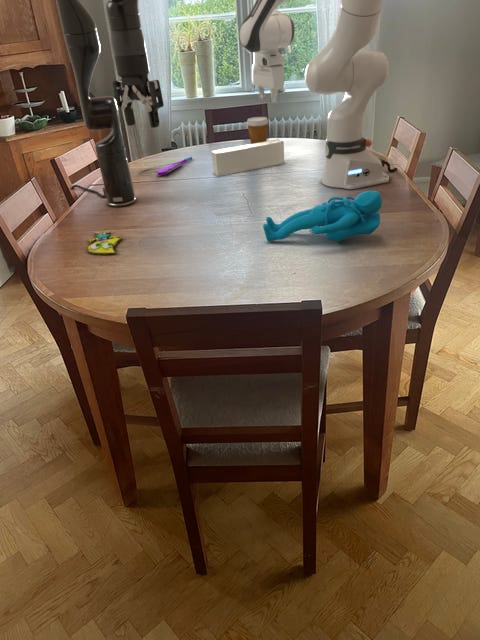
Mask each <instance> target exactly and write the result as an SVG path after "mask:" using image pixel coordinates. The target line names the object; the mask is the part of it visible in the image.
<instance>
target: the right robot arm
mask: <svg viewBox="0 0 480 640" xmlns="http://www.w3.org/2000/svg"><path fill="white" fill-rule="evenodd" d="M288 1H289V2H290V0H256V1H255V2H254V5H253V6H252V8H251V10H250V12H249V14H247V16H246V17H245V18H244V19H243V21H242V23H241V25H240V26H239V31H238V38H239V42H240V45H241V46H242V47H243V49H244V50H246V51H247V52H248V53H249V54H253V64H252V65H251V80H252V86H256V87H257V91H258V94H259V99H260V100H263V101H264V100H266V92H265V89H269V90H270V93H271V96H270V103H273V104H274V103H277V100H278V99H277V97H278V94H279V90H283V89H284V85H285V68H284V65H285V63H286V60H285V59H286V58H285V57H284V56H283V55H282V54H281V52H280V51H279V49H284V48H286V47H289V46H290V45H291V44H292V43H293V40H294V39H295V32H296V31H295V29H296V28H295V23H294V20H293V19H292V18H291V17H290V16H289V15H288V14H285V13H282V12H280V11H279V10H278V9H277V7H279V6H280V5H282V4H284V3H286V2H288ZM383 3H384V0H340V5H339V10H338V15H337V19H336V24H335V28H334V30H333V33H332V35H331V38H330V40H329V41H328V43H327V44H326V45H325V47H324V48H323V49H322V50H321V51H320V52H319V53H318V54H317V55H315V57H313V58H311V60H310V61H309V62H308V63H307V65H306V68H305V72H304V80H305V85H306V87H307V89H308V90H309V91H310V92H311V93H312V94H316V95H326V96H329V95H337V94H345V95H344V98H343V99H342V101H341V102H340V103H339V104H337V105H336V106H335V107H333V108H332V109H331V110H330V111H329V113H328V116H327V123H326V124H327V126H326V127H327V129H326V130H327V133H326V139H325V145H324V154H325V155H324V156H325V164H324V170H323V175H322V178H321V183H322V185H324V186H327V187H330V188H338V189H339V188H341V189H346V190H356V189H361V188H366V187H371V186H376V185H380V184H385V183H389V182H390V176H389V175H388V174H387V173H386V172H385V171H384V167H385V165H386V167H387V171H388V172H389V173H394V172H396V171H398V167H393V168H391V164H390V163H389V162H388V161H386V160H385V159H383V158H380V157H377V156H376V155H375V154H373V152H371V151H370V150H368V148H370V147H371V146H373V141H372V140H371V139H368V138H367V139H366V138H364V137H362V134H363V125H364V124H363V123H364V115H365V112H366V109H367V106H368V104H369V102H370V100H371V99H372V96H373V95H374V94H375V92H376V91H378V89H379V88H380V87H382V85H383V84H384V83H385V82H386V81H387V78H388V76H389V73H390V72H389V71H390V64H389V60H388V57H387V55H385V53H384V52H382V51H376V50H368V49H367V50H362V49H364V48H365V47H366V46H368V45H369V44H370V43H371V42H372V40H373V39H374V37H375V35H376V31H377V28H378V23H379V19H380V15H381V11H382V7H383Z"/></svg>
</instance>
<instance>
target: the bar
mask: <svg viewBox="0 0 480 640" xmlns="http://www.w3.org/2000/svg"><path fill="white" fill-rule="evenodd" d="M284 147H285V143H284V141H283V140H281V139H278V138H277V139H271V140H266V141H265V142H260V143H254V144H251V143H250V144H249V143H248V144H244V145H238V146H232V147H226V148H220V149H216V150H211V161H212V170H213V174H214V175H215V176H216V177H222V176H227V175H233V174H238V173H242V172H248V171H253V170H259V169H264V168H269V167H275V166H279V165H284V164H285V148H284Z"/></svg>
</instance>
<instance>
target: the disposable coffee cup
mask: <svg viewBox="0 0 480 640" xmlns="http://www.w3.org/2000/svg"><path fill="white" fill-rule="evenodd" d="M268 124H269V120H268V117H266V116H255V117H254V116H253V117H250V118H247V120H246V125H247V129H248V135H249V140H250V144H254V143H260V142H265V141H267V137H268V135H267V134H268Z"/></svg>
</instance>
